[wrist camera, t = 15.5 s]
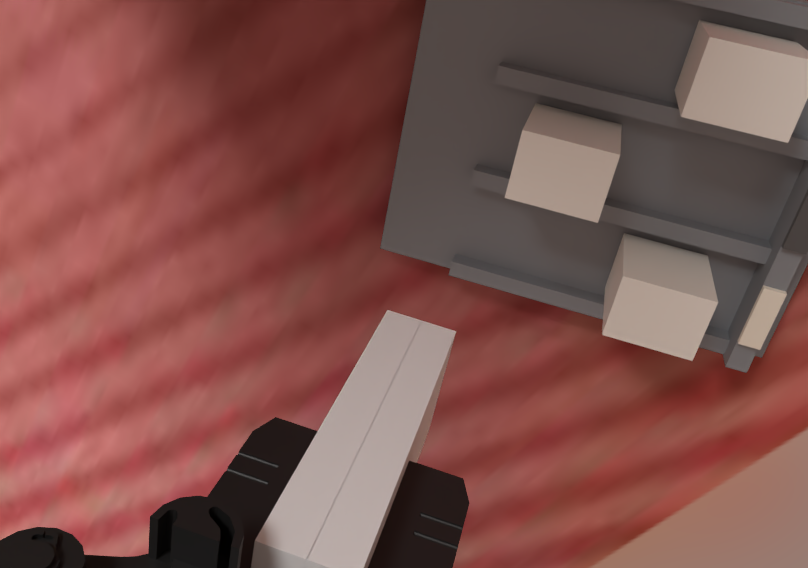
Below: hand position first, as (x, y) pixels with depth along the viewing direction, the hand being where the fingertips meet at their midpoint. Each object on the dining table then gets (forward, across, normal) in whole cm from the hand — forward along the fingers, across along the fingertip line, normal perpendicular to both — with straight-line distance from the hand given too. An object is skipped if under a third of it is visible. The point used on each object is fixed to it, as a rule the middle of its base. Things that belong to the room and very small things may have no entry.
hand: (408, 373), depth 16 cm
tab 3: (+23, +8, +4) cm, 24 cm away
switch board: (+24, +4, -1) cm, 25 cm away
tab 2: (+22, +8, -6) cm, 24 cm away
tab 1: (+22, +2, -1) cm, 23 cm away
